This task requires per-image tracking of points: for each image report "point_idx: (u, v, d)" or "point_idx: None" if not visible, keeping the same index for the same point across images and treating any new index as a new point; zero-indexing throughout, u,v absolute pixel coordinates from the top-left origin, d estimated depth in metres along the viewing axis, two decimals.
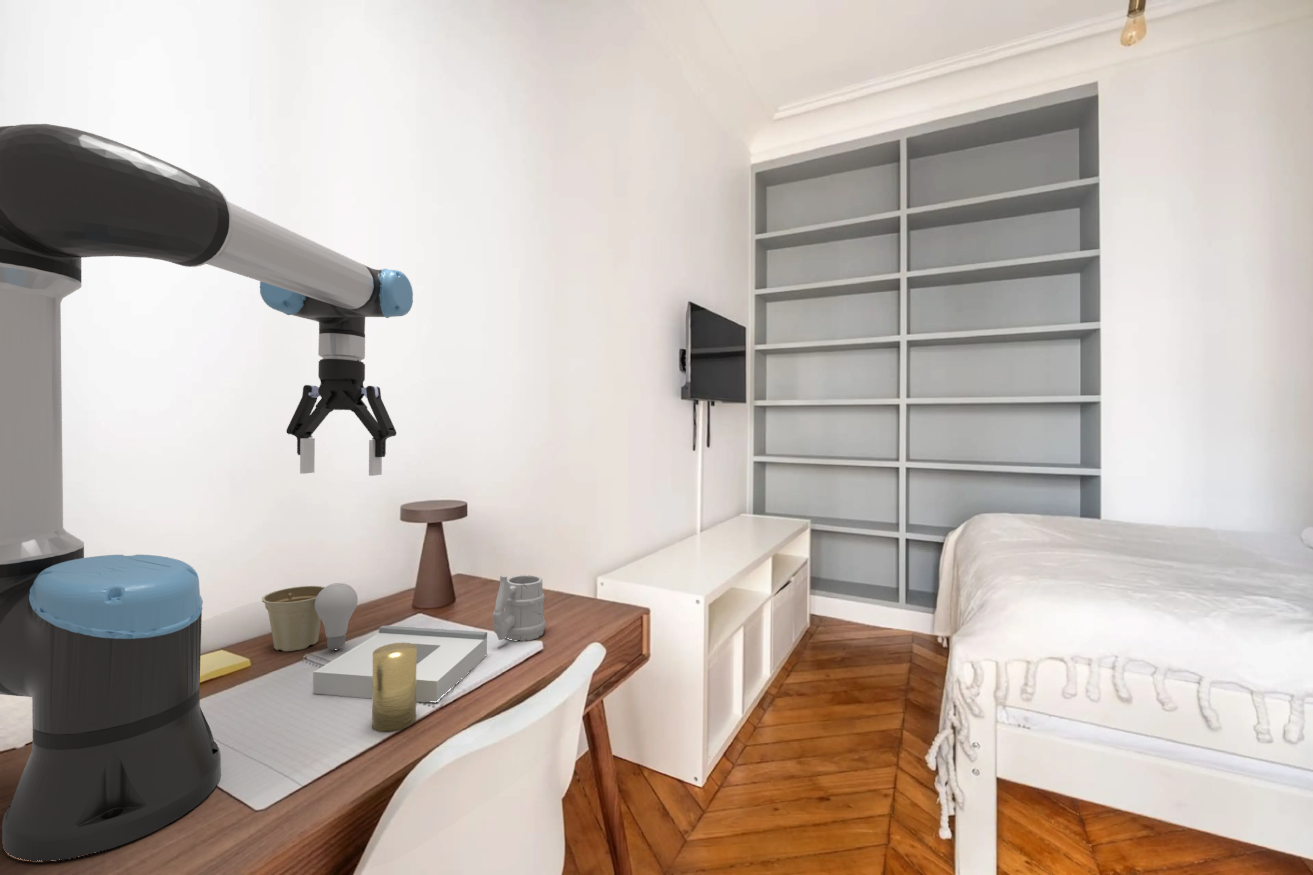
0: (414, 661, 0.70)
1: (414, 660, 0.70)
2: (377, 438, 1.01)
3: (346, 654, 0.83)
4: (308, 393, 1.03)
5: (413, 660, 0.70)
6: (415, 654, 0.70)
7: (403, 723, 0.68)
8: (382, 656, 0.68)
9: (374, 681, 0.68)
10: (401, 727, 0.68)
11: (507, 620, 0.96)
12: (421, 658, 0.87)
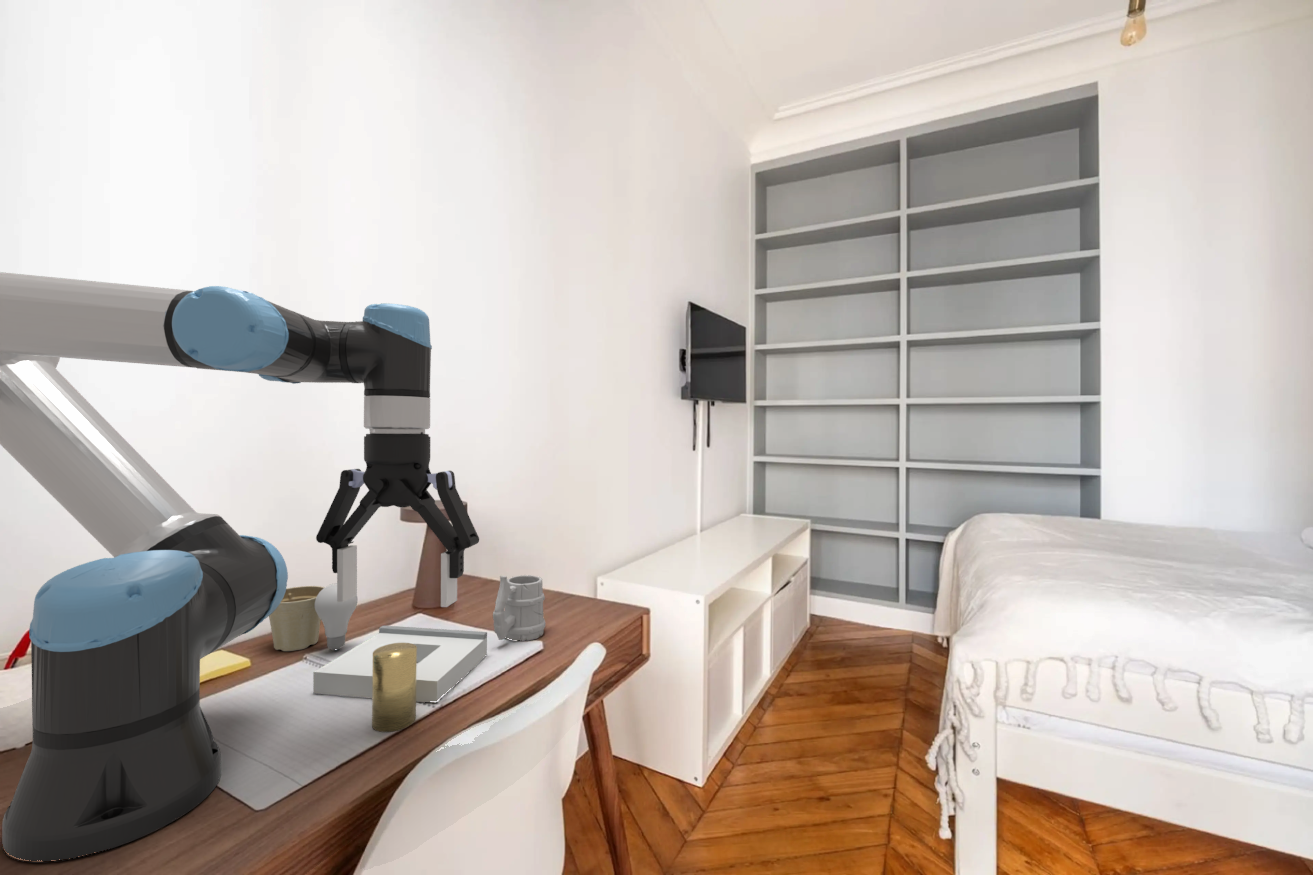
0: (414, 661, 0.70)
1: (414, 660, 0.70)
2: (453, 551, 0.67)
3: (346, 654, 0.83)
4: (348, 482, 0.69)
5: (413, 660, 0.70)
6: (415, 654, 0.70)
7: (403, 723, 0.68)
8: (382, 656, 0.68)
9: (374, 681, 0.68)
10: (401, 727, 0.68)
11: (507, 620, 0.96)
12: (421, 658, 0.87)
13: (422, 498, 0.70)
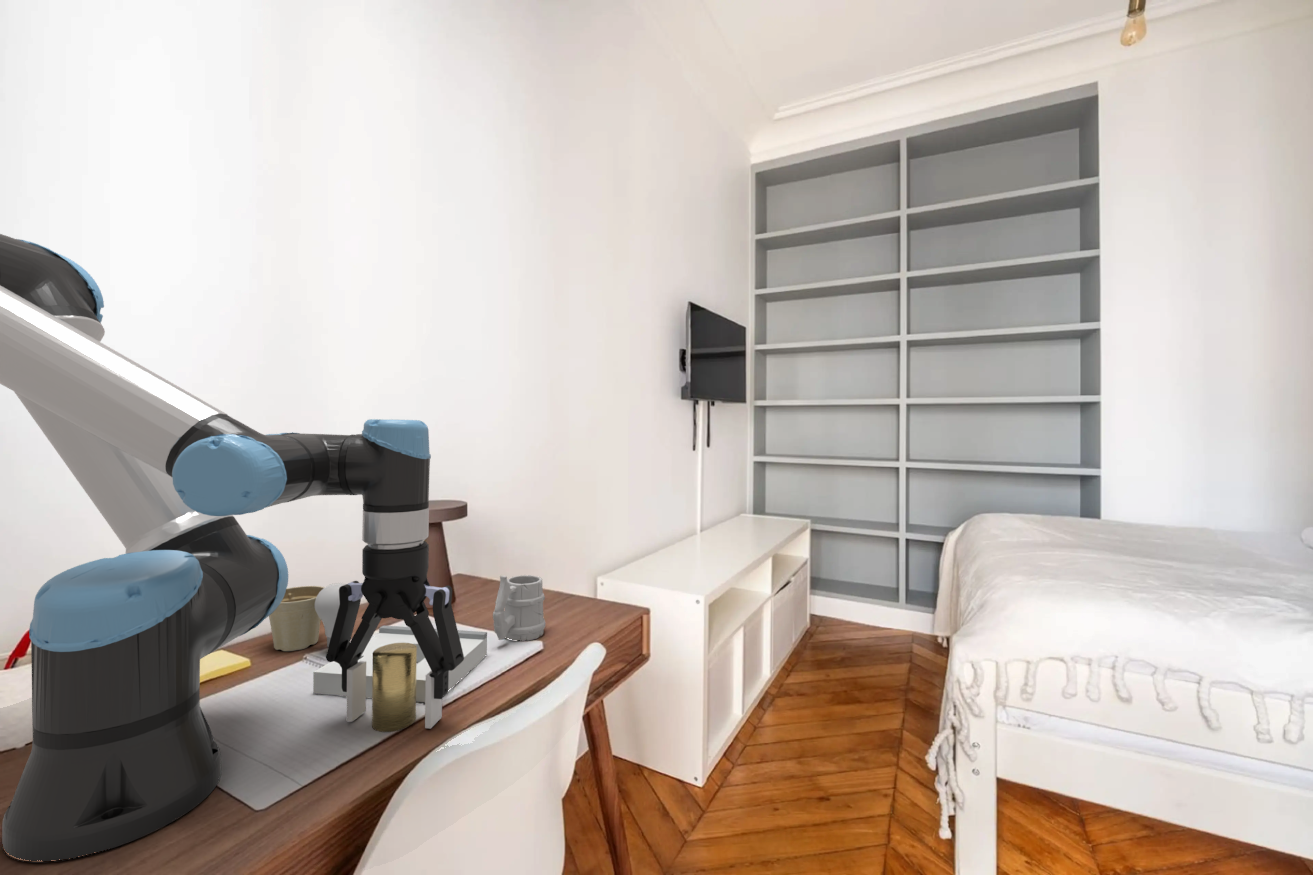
0: (414, 661, 0.70)
1: (414, 660, 0.70)
2: (437, 674, 0.68)
3: None
4: (348, 597, 0.69)
5: (413, 660, 0.70)
6: (415, 654, 0.70)
7: (403, 723, 0.68)
8: (382, 656, 0.68)
9: (374, 681, 0.68)
10: (401, 727, 0.68)
11: (507, 620, 0.96)
12: (421, 658, 0.87)
13: (417, 608, 0.71)
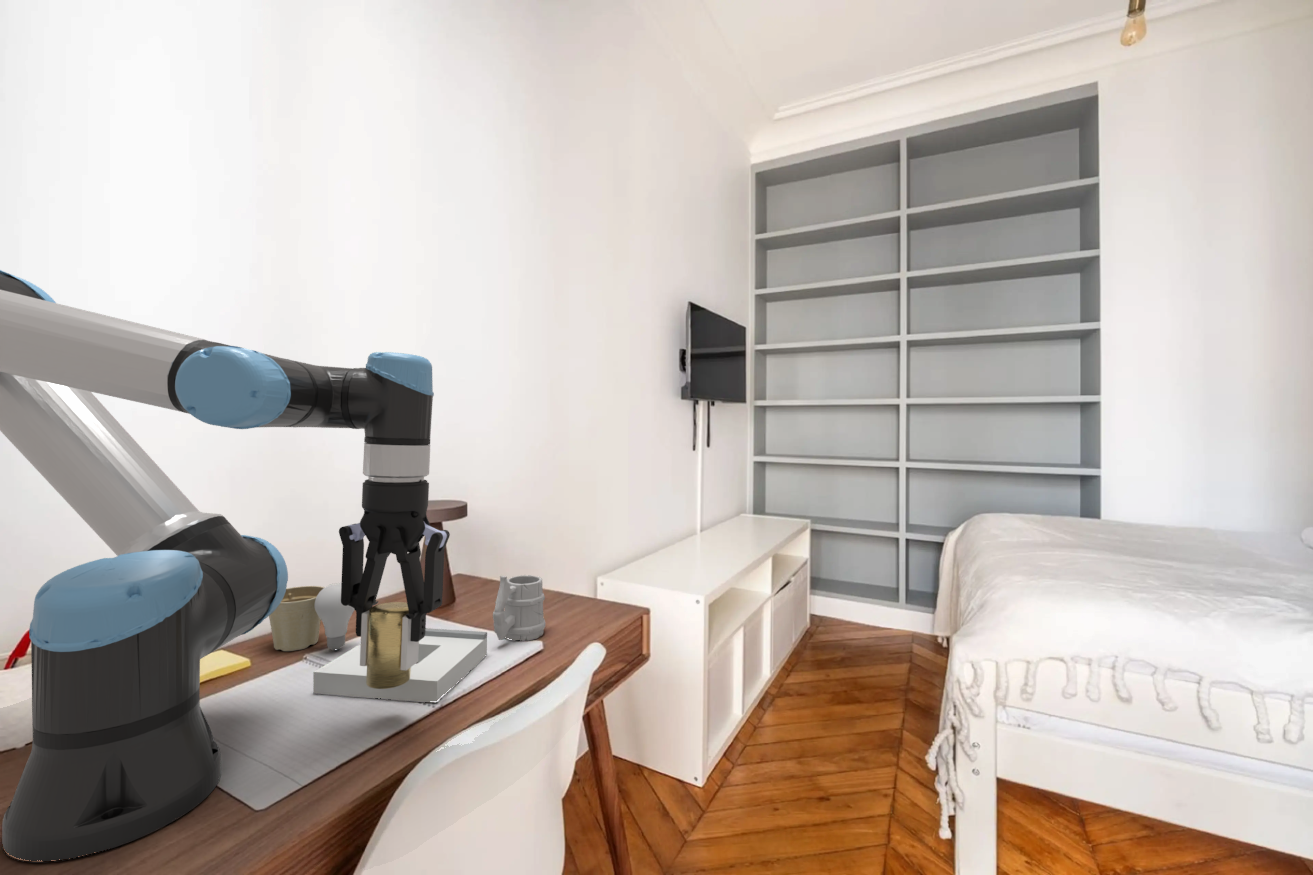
0: None
1: None
2: (413, 617, 0.68)
3: (346, 654, 0.83)
4: (349, 537, 0.69)
5: None
6: None
7: (397, 681, 0.68)
8: (378, 612, 0.68)
9: (370, 637, 0.68)
10: (395, 685, 0.68)
11: (507, 620, 0.96)
12: (421, 658, 0.87)
13: None
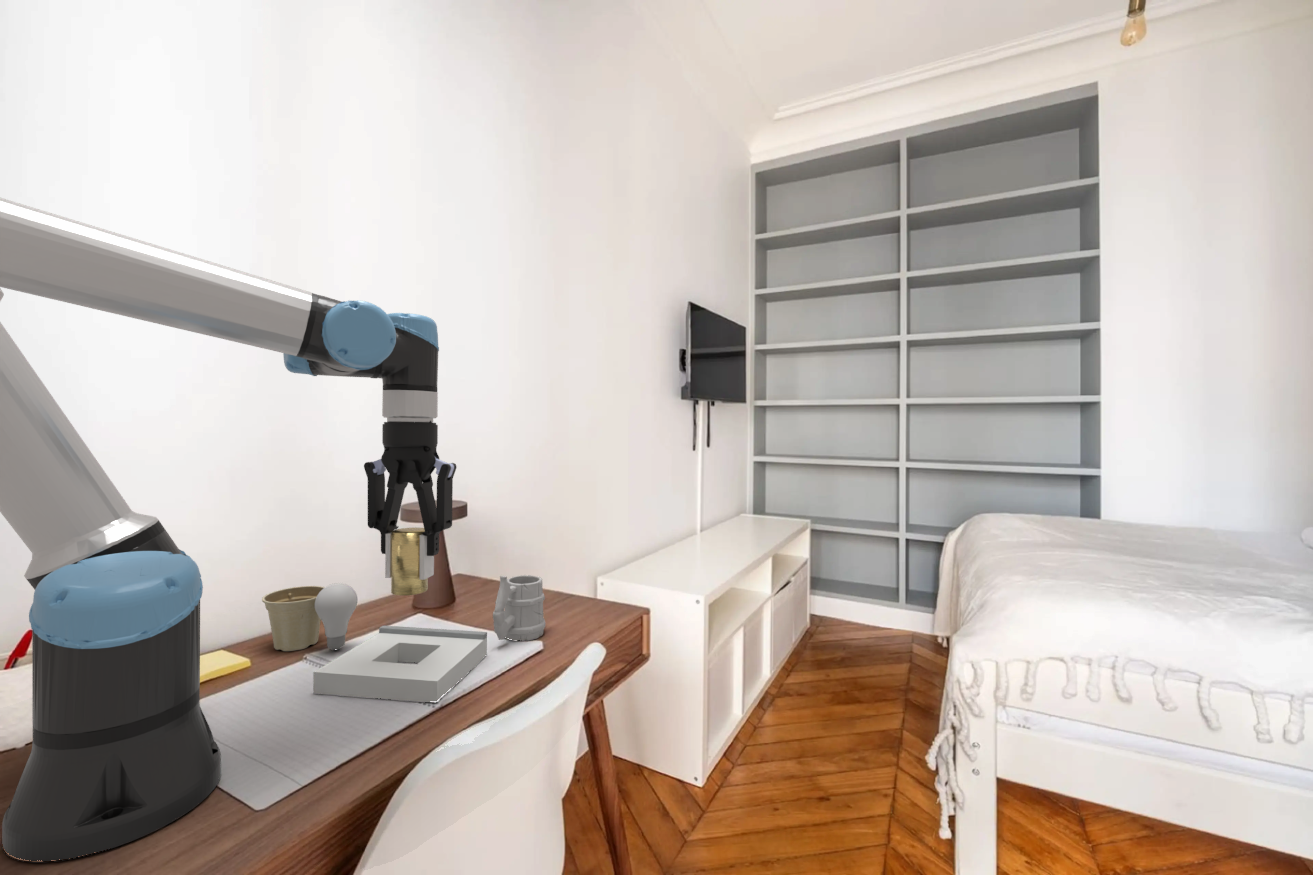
0: None
1: None
2: (428, 534, 0.81)
3: (346, 654, 0.83)
4: (372, 470, 0.82)
5: None
6: None
7: (417, 589, 0.82)
8: (399, 532, 0.81)
9: (393, 554, 0.81)
10: (415, 592, 0.81)
11: (507, 620, 0.96)
12: (421, 658, 0.87)
13: None
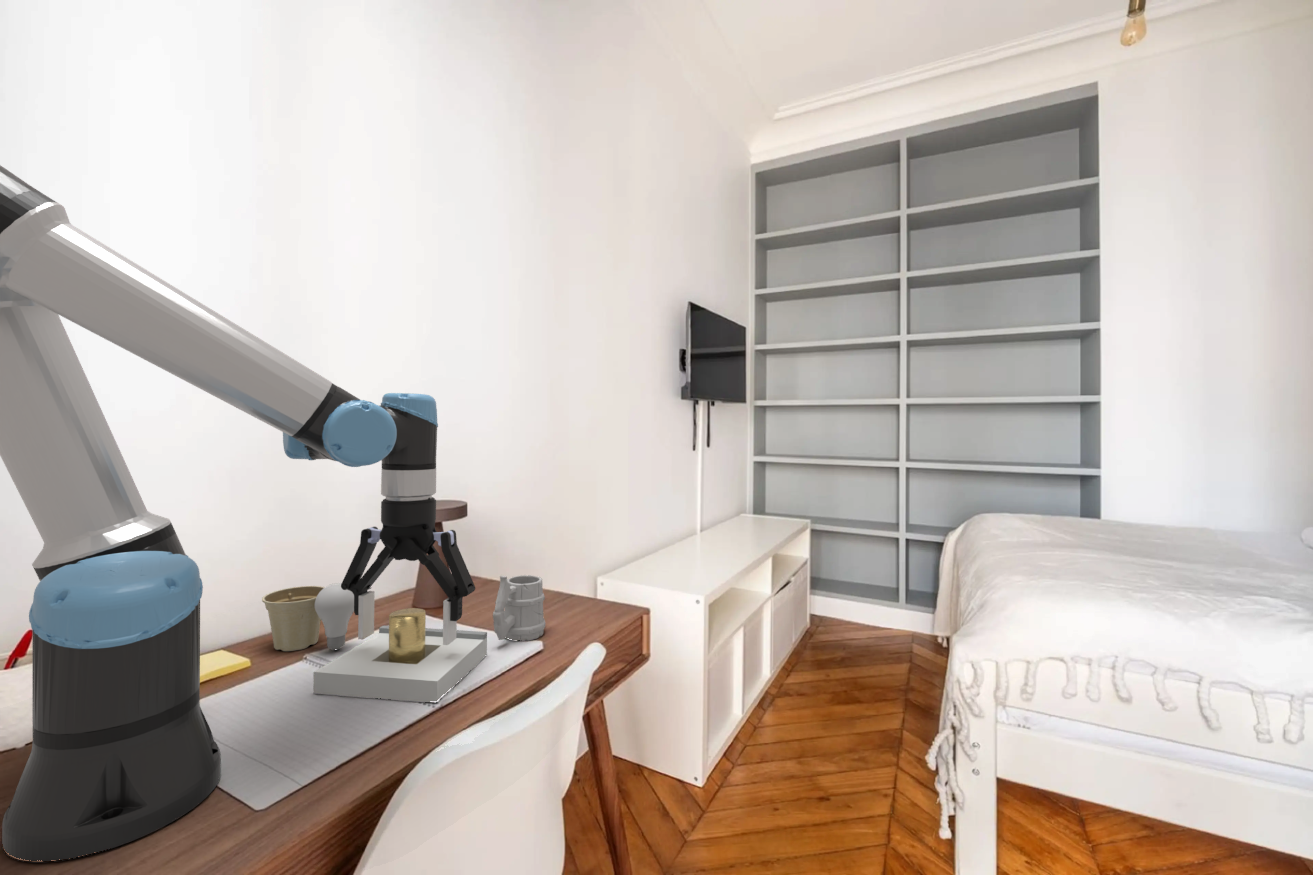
0: (423, 622, 0.83)
1: (423, 621, 0.83)
2: (453, 599, 0.81)
3: (346, 654, 0.83)
4: (367, 539, 0.83)
5: (423, 622, 0.83)
6: (424, 617, 0.84)
7: None
8: (397, 617, 0.82)
9: (390, 638, 0.82)
10: None
11: (507, 620, 0.96)
12: None
13: (428, 552, 0.84)
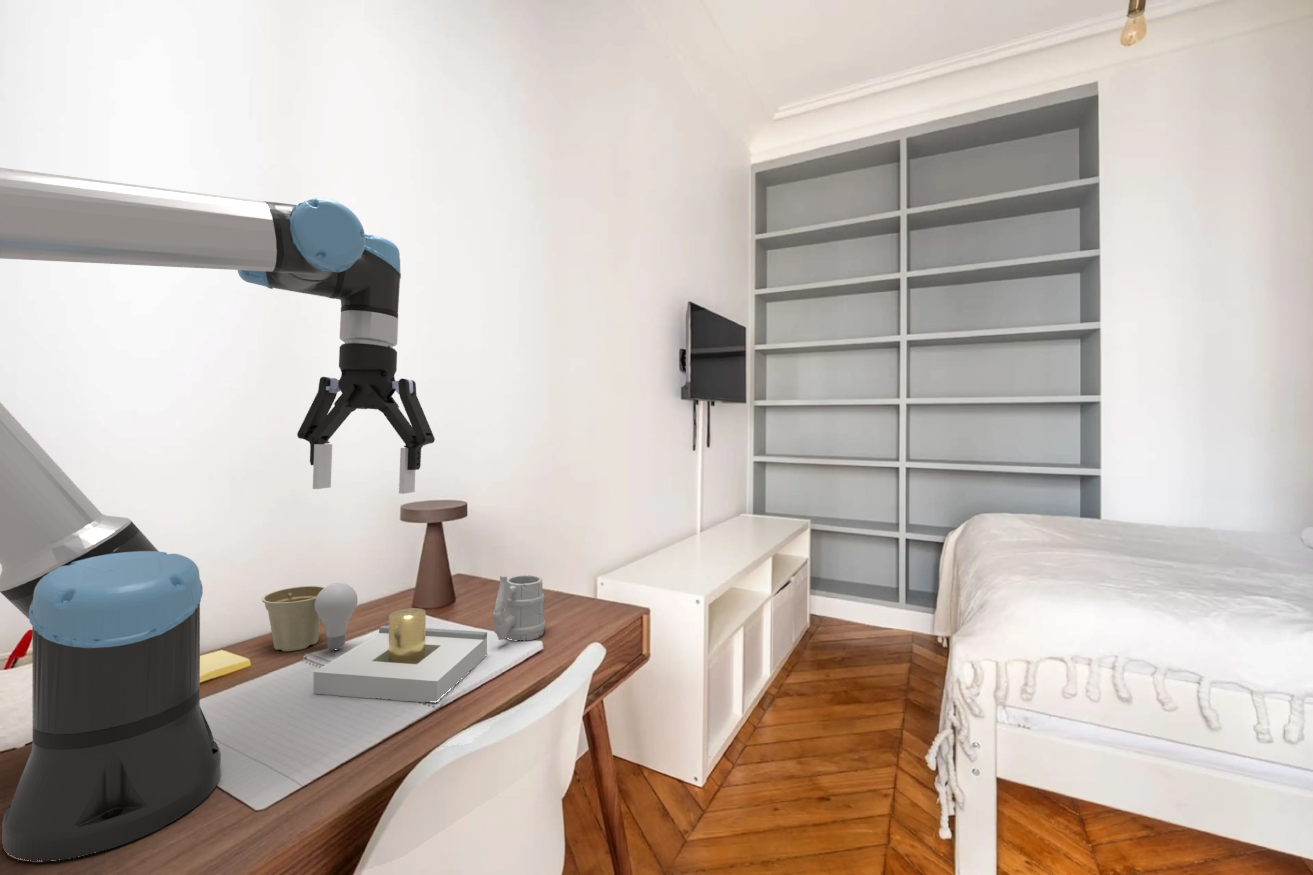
0: (423, 622, 0.83)
1: (423, 621, 0.83)
2: (411, 446, 0.79)
3: (346, 654, 0.83)
4: (325, 387, 0.81)
5: (423, 622, 0.83)
6: (424, 617, 0.84)
7: None
8: (397, 617, 0.82)
9: (390, 638, 0.82)
10: None
11: (507, 620, 0.96)
12: None
13: None
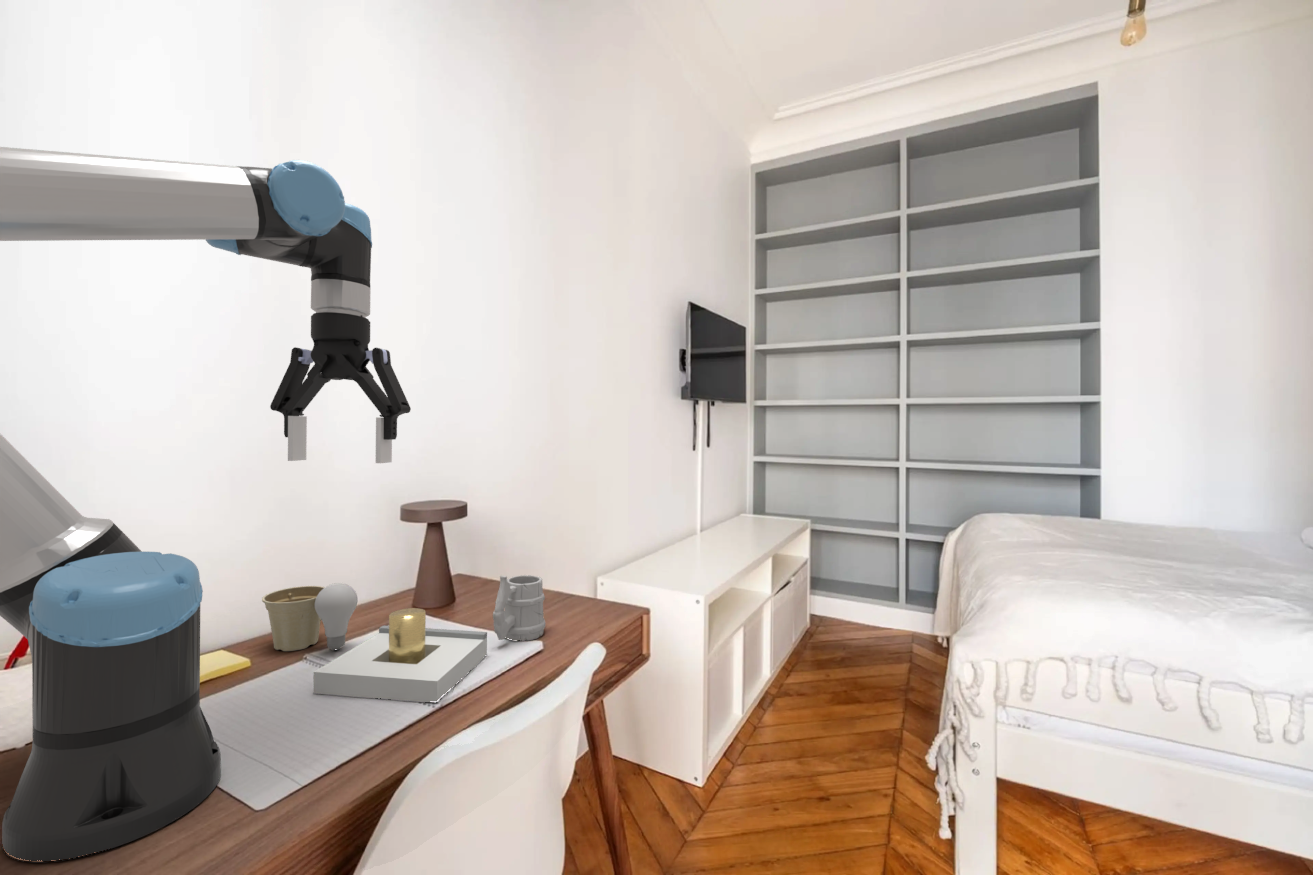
0: (423, 622, 0.83)
1: (423, 621, 0.83)
2: (386, 415, 0.79)
3: (346, 654, 0.83)
4: (298, 358, 0.80)
5: (423, 622, 0.83)
6: (424, 617, 0.84)
7: None
8: (397, 617, 0.82)
9: (390, 638, 0.82)
10: None
11: (507, 620, 0.96)
12: None
13: None
